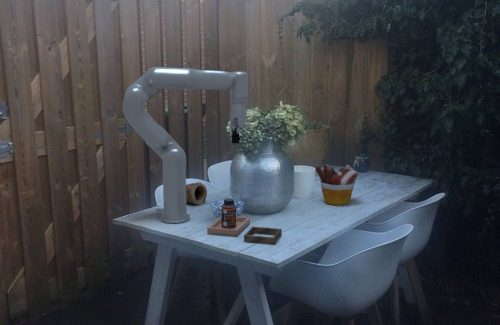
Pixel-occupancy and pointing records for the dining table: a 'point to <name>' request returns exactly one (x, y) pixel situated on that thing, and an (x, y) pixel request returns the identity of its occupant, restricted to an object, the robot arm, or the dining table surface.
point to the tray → (234, 232)
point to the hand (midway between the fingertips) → (239, 141)
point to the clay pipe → (196, 193)
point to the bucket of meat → (337, 184)
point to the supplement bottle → (228, 213)
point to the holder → (261, 239)
